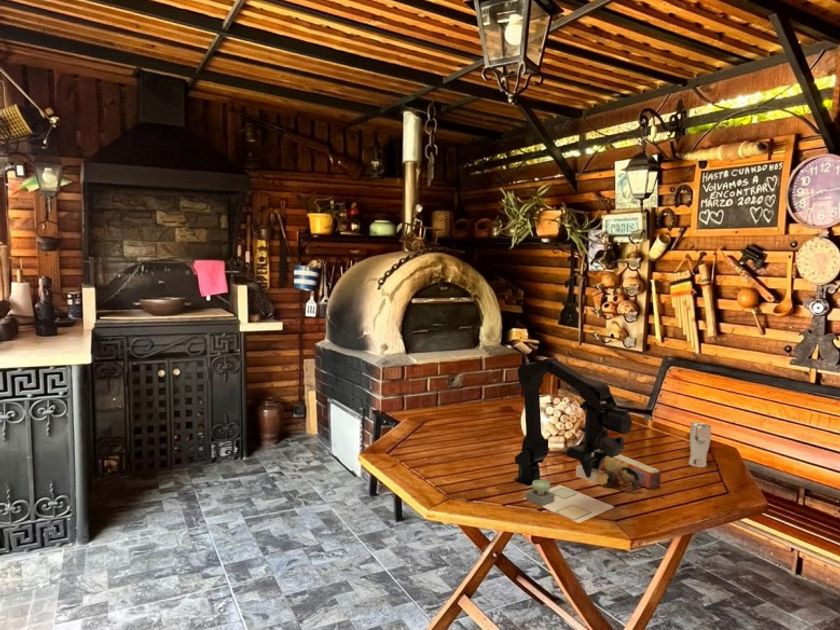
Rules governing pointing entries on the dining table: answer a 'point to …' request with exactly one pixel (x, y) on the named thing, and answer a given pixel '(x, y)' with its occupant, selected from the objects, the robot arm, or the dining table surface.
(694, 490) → the dining table surface
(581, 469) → the marker
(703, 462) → the beer glass
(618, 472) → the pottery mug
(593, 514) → the picture board
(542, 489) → the button
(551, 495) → the button housing
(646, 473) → the snack package
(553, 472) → the dining table surface
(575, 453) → the robot arm
